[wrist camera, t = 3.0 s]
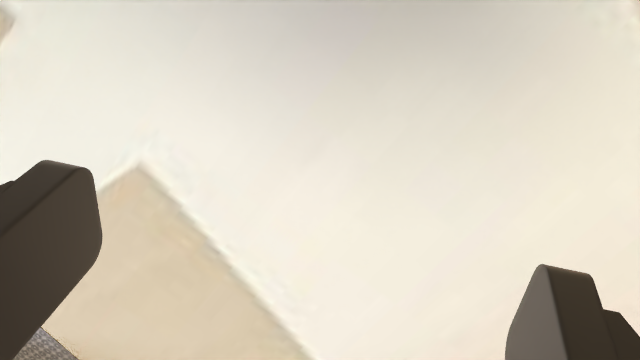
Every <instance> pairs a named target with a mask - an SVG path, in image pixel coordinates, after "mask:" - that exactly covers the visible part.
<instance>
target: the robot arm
mask: <svg viewBox="0 0 640 360" xmlns="http://www.w3.org/2000/svg"><path fill="white" fill-rule="evenodd" d="M101 245H102V229H101V222H100V216H99V210H98V204H97V197H96V191H95V185H94V179H93V176H92V173H91V172H90V170H88V169H87V168H84V167H79V166H74V165H70V164H65V163H60V162H55V161H50V160H43V161H41V162H39V163H37V164H36V165H35V166H34V167H32V168H31V169H30V170H28V171H27V172H26V173H24V174H23V175H22V176H21V177H19V178H18V179H17V180H15V181H9V182H7V183H5V184H2V185H0V360H13V359H14V358H15V356H16V355H17V354H18V353H19V352H20V351H21V349H22V348H23V347H24V346H25V345H26V344H27V342H28V341H29V340H30V339H31V338H32V336H33V335H34V334H35V333H36V332H37V331H38V329H39V328H40V327H41V326H42V325H43V324H44V322H45V321H46V320H47V319H48V318H49V316H50V315H51V314H52V313H53V312H54V311H55V309H56V308H57V307H58V306H59V305H60V304H61V302H62V301H63V300H64V299H65V298H66V296H67V295H68V294H69V293H70V292H71V291H72V289H73V288H74V287H75V286H76V285H77V284H78V282H79V281H80V280H81V279H82V278H83V276H84V275H85V274H86V273H87V272H88V271H89V269H90V268H91V267H92V266H93V264H94V263H95V261H96V259H97V257H98V255H99V252H100V249H101ZM505 360H640V337H639V336H638V334H637V333H636V332H635V331H634V330H633V328H632V327H631V326H630V325H629V324H628V322H627V321H626V320H625V319H624V318H623V316H622V315H621V314H620V313H619V312H614V311H609V310H605V309H603V308H602V304H601V301H600V298H599V295H598V292H597V289H596V286H595V283H594V281H593V278H592V277H591V276H590V275H589V274H587V273H582V272H577V271H572V270H568V269H563V268H558V267H553V266H548V265H544V264H541V265H539V266H538V267H537V268H536V270H535V271H534V273H533V276H532V278H531V280H530V282H529V285H528V287H527V289H526V292H525V294H524V296H523V299H522V301H521V303H520V305H519V308H518V310H517V312H516V315H515V317H514V319H513V321H512V324H511V326H510V329H509V333H508V337H507V342H506V351H505Z"/></svg>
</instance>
